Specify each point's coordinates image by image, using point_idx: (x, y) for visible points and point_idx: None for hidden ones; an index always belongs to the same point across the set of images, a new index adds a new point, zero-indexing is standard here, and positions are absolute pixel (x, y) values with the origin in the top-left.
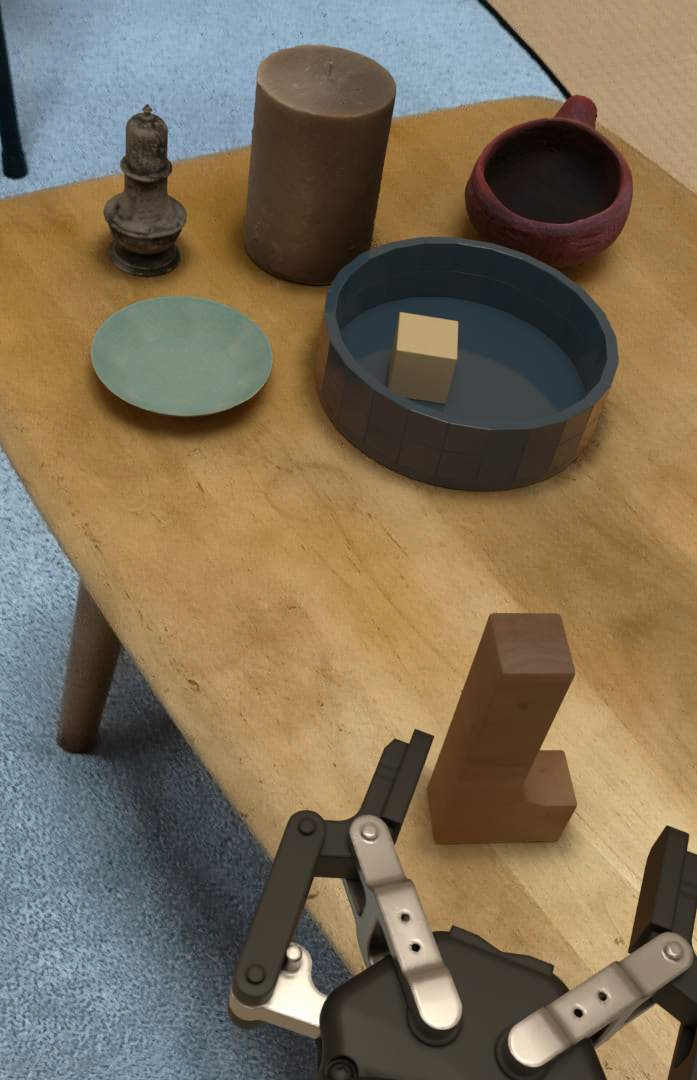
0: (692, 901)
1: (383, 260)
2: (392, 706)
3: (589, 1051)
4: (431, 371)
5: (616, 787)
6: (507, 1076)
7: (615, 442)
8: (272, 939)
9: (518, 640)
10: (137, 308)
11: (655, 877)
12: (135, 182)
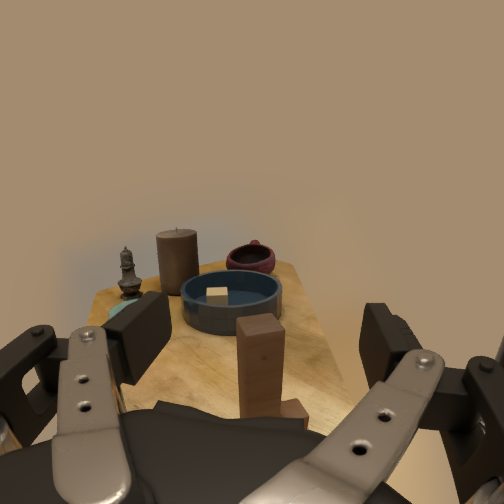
0: (410, 337)
1: (200, 278)
2: (221, 405)
3: (391, 494)
4: (220, 301)
5: (324, 411)
6: None
7: (289, 314)
8: None
9: (252, 323)
10: (125, 303)
11: (374, 333)
12: (124, 270)
